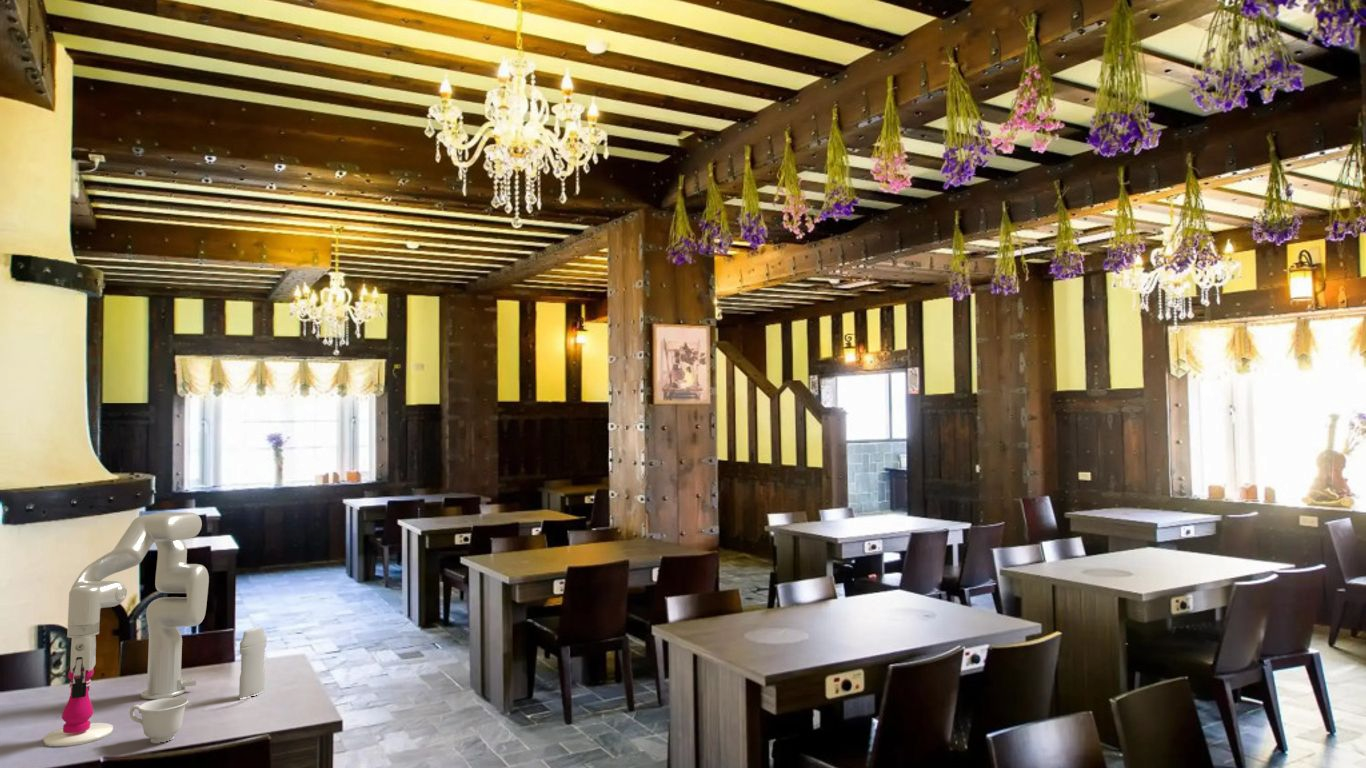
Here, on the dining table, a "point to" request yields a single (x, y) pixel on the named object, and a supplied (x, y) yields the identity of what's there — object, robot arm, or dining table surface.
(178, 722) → the teacup
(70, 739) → the plate
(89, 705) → the pepper mill
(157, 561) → the robot arm
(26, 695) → the dining table surface
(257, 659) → the tall pale column
